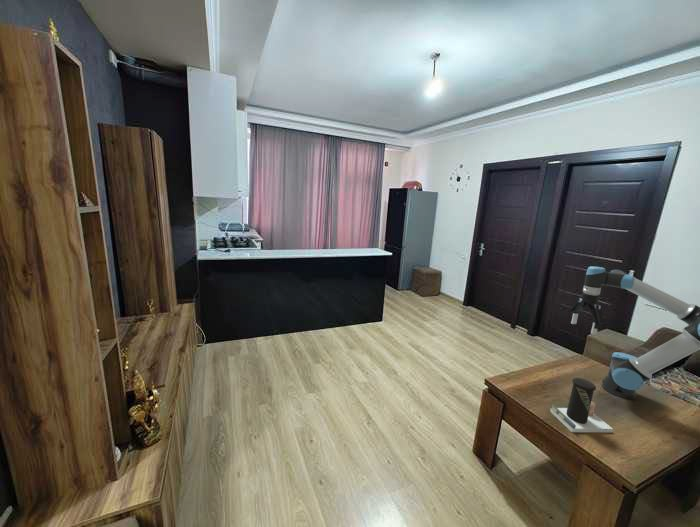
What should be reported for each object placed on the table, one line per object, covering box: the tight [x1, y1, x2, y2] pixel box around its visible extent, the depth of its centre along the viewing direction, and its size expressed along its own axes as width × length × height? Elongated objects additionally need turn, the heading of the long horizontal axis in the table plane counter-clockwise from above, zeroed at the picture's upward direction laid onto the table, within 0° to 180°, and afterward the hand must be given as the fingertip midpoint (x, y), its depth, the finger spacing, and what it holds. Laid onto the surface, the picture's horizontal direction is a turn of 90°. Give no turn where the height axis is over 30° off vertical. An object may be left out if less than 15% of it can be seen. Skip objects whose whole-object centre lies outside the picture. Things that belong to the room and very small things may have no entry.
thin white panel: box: [549, 404, 614, 433], centre depth 140 cm, size 20×14×4 cm
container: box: [566, 377, 597, 424], centre depth 139 cm, size 9×9×20 cm
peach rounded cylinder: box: [589, 400, 596, 416], centre depth 144 cm, size 5×5×6 cm
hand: (583, 328), depth 164 cm, fingers open, 13 cm apart
